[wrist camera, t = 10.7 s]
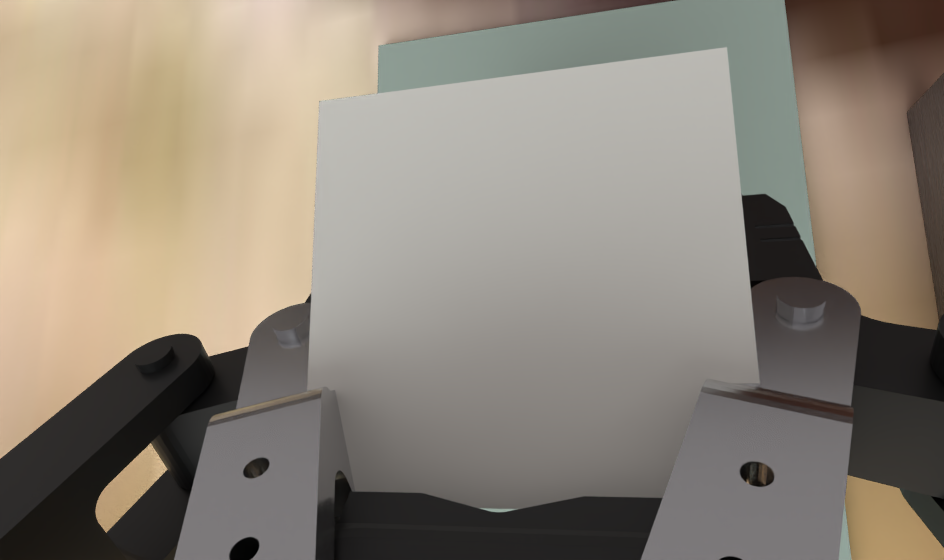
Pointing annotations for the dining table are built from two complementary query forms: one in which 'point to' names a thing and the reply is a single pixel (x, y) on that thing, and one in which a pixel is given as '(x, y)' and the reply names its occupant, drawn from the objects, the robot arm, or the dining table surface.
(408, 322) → the block
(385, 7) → the dining table surface
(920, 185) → the brackets
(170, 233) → the dining table surface
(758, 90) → the mat
